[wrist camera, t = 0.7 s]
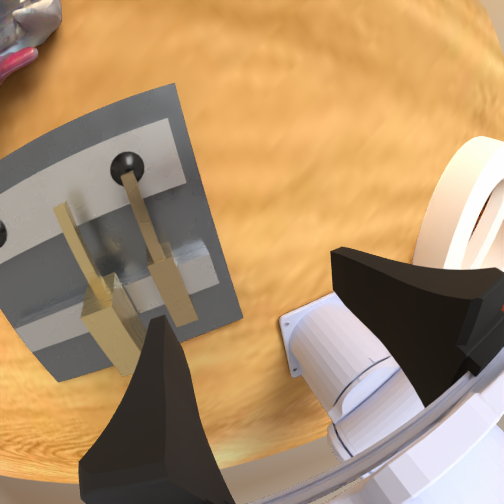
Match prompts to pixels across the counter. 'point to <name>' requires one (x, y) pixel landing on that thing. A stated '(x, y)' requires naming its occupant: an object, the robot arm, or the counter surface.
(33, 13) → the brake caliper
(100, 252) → the grey mechanism base plate
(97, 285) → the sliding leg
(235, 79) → the counter surface
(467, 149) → the white circle with bar
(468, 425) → the robot arm
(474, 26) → the counter surface
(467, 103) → the counter surface
